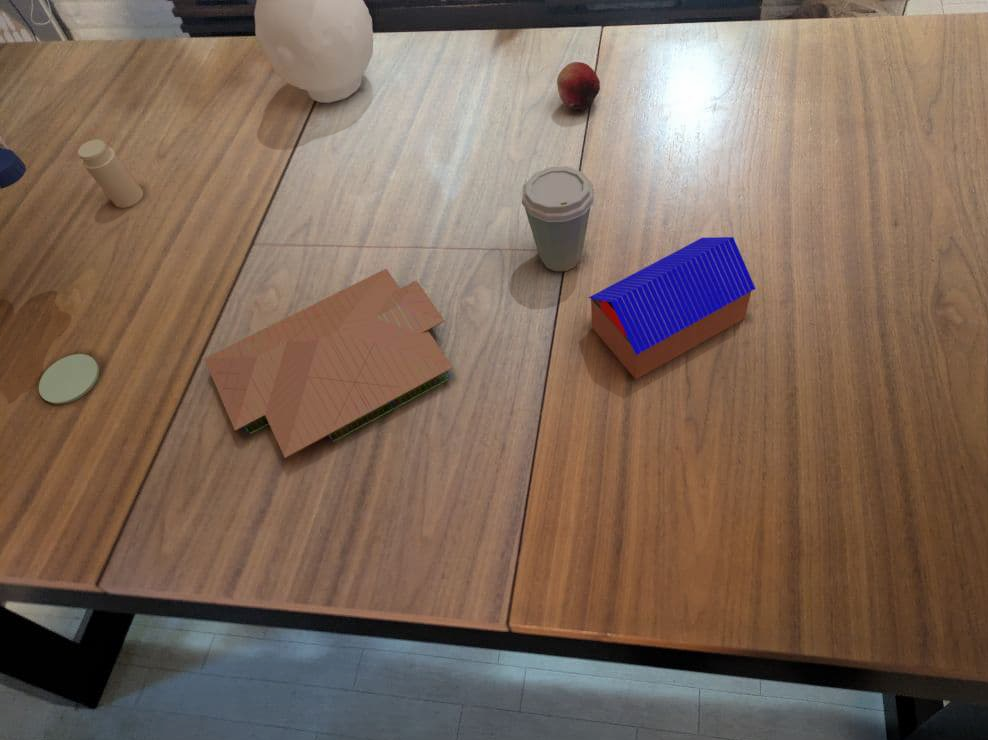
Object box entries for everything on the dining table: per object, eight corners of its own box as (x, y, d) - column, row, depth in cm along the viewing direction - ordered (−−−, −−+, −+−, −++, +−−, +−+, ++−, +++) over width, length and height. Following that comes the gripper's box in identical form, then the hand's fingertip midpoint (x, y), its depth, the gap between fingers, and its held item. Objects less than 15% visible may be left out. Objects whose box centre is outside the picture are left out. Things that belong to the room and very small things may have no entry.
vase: (361, 125, 136) (302, -40, 110) (268, 109, 141) (191, -51, 116) (403, 67, 144) (357, -98, 119) (313, 54, 150) (251, -106, 124)
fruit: (585, 87, 135) (583, 48, 129) (608, 107, 132) (608, 68, 125) (551, 104, 134) (547, 64, 127) (573, 124, 130) (571, 85, 123)
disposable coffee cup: (524, 240, 116) (513, 167, 103) (587, 227, 116) (584, 151, 103) (537, 288, 110) (527, 217, 98) (604, 273, 111) (602, 200, 98)
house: (747, 318, 104) (762, 263, 94) (634, 382, 100) (637, 332, 90) (697, 268, 109) (705, 211, 100) (589, 326, 105) (586, 273, 96)
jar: (113, 211, 129) (74, 162, 120) (113, 191, 132) (75, 142, 123) (143, 202, 130) (107, 153, 120) (143, 183, 133) (107, 133, 123)
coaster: (39, 411, 107) (36, 409, 106) (43, 366, 111) (40, 364, 111) (98, 394, 107) (96, 391, 107) (100, 349, 112) (97, 347, 111)
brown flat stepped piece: (473, 371, 103) (463, 337, 96) (263, 485, 96) (236, 458, 90) (407, 274, 114) (393, 238, 107) (214, 370, 108) (187, 338, 101)
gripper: (-76, 129, 83) (10, 217, 95) (-40, 34, 94) (33, 124, 105) (-130, 141, 83) (-37, 227, 94) (-88, 45, 93) (-9, 133, 105)
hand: (0, 172), depth 100 cm, fingers closed on lid, 6 cm apart
